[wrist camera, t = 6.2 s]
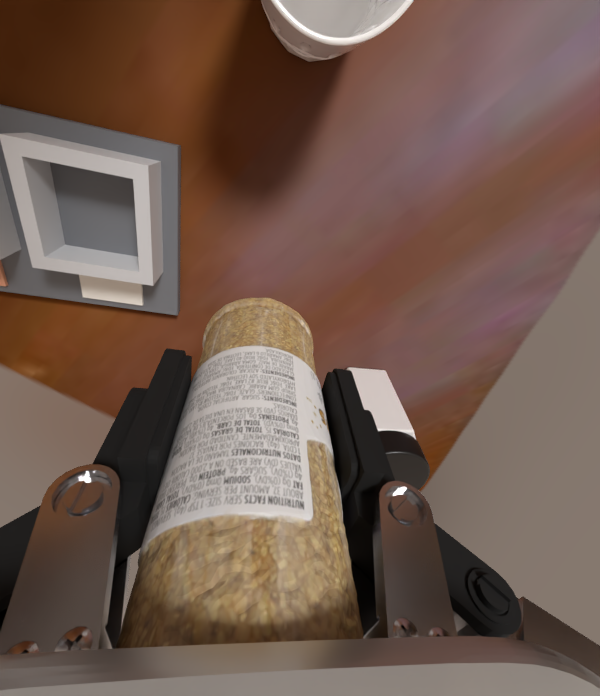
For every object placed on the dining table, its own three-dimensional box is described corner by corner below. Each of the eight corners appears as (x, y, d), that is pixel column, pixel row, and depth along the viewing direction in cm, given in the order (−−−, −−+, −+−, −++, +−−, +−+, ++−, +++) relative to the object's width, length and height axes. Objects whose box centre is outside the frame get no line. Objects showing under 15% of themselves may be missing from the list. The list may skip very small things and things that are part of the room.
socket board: (-187, 61, 20) (-275, 49, 17) (180, 145, 24) (166, 149, 21) (-88, 272, 28) (-136, 292, 25) (179, 310, 32) (169, 332, 29)
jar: (314, 377, 38) (330, 466, 28) (381, 354, 37) (422, 438, 27) (336, 425, 43) (356, 515, 33) (396, 406, 42) (436, 493, 32)
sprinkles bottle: (305, 383, 15) (402, 1066, 4) (205, 381, 15) (18, 1159, 4) (319, 294, 13) (653, 1438, 2) (198, 287, 12) (-491, 1953, 1)
